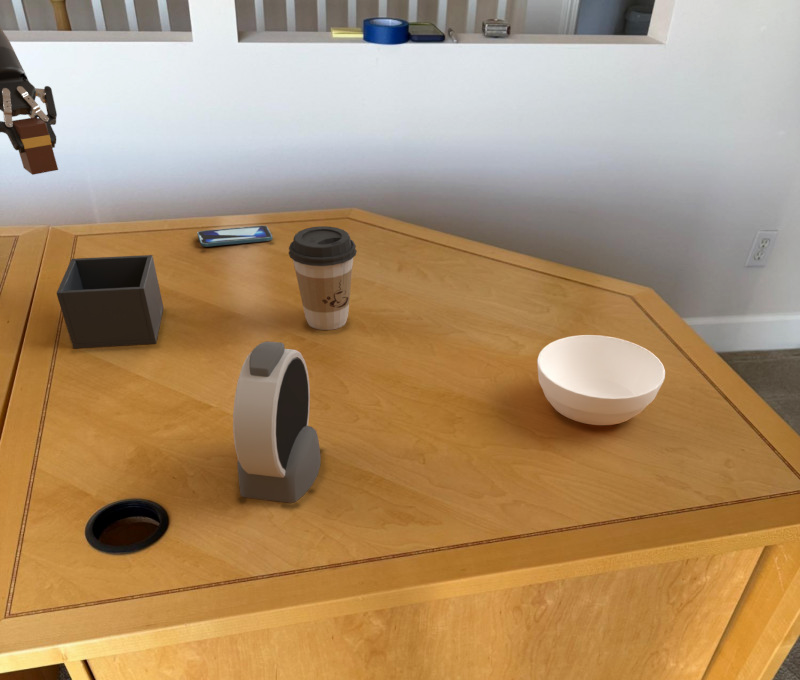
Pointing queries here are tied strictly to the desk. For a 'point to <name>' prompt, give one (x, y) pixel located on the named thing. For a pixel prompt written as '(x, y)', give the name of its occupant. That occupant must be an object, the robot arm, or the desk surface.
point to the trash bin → (111, 301)
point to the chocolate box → (35, 146)
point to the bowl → (599, 378)
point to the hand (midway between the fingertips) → (37, 147)
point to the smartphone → (234, 235)
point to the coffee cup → (324, 274)
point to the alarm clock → (274, 425)
